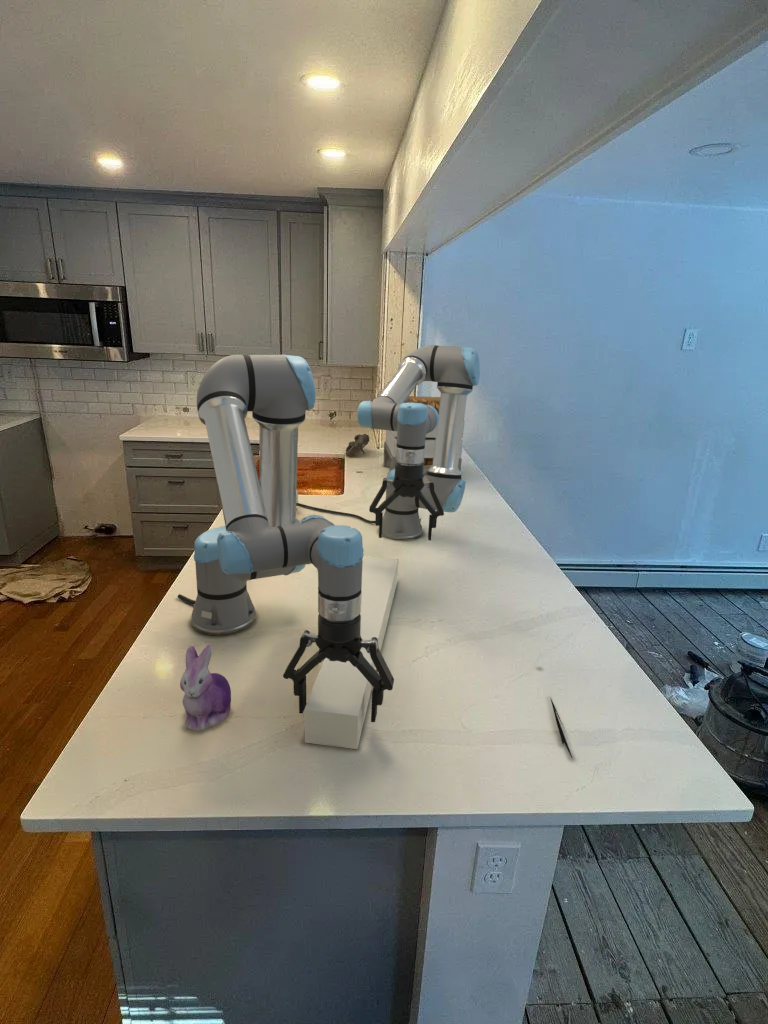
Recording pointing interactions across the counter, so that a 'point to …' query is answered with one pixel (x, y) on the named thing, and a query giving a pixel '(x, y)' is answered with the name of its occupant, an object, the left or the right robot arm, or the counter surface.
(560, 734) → the feather
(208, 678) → the figurine
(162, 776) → the counter surface
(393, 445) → the white slatted box
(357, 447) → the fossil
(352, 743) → the thick board
